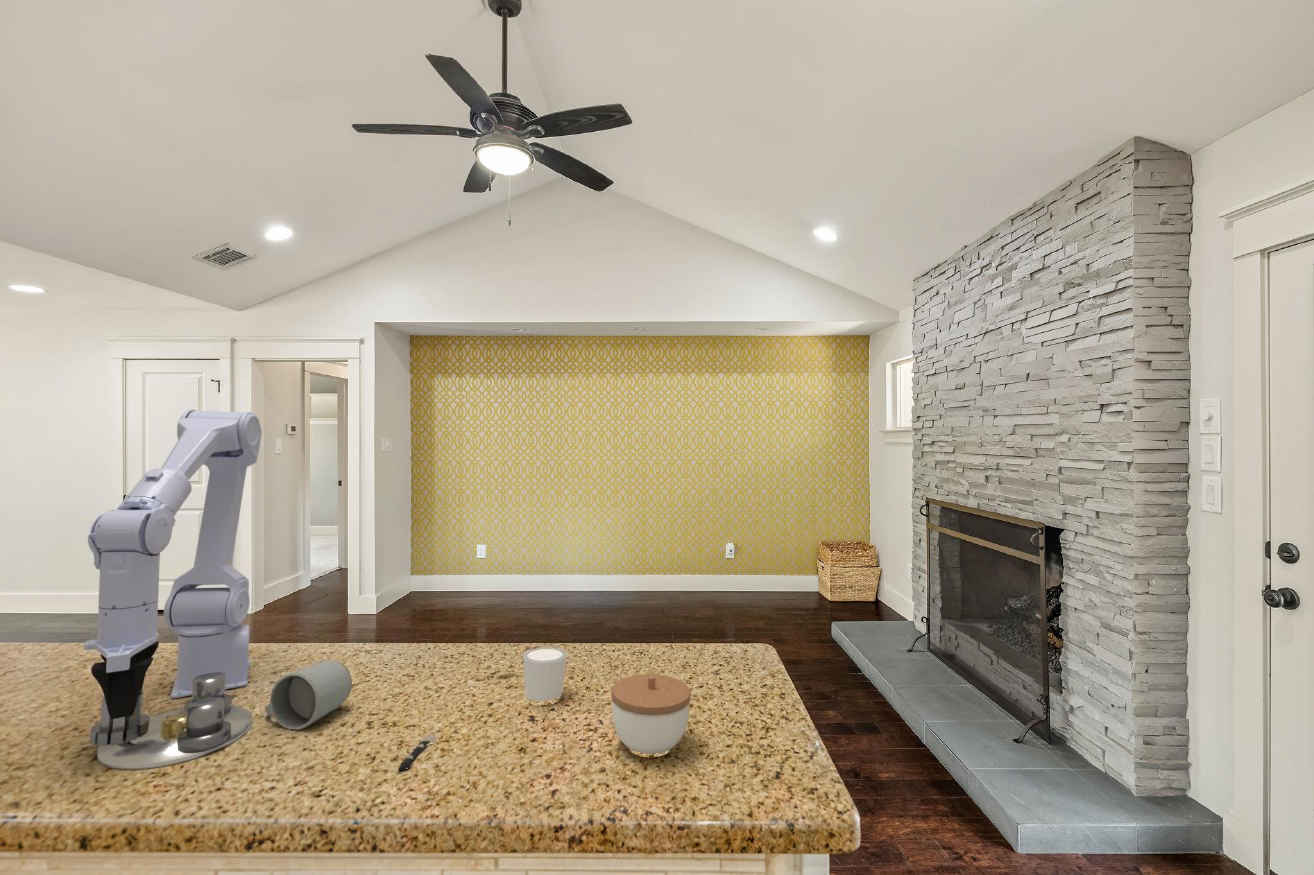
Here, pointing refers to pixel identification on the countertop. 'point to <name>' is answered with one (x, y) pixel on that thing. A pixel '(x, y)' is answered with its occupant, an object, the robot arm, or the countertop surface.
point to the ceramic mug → (309, 694)
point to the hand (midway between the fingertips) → (124, 709)
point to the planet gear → (119, 726)
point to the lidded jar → (650, 712)
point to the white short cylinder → (544, 673)
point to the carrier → (184, 730)
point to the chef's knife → (416, 752)
